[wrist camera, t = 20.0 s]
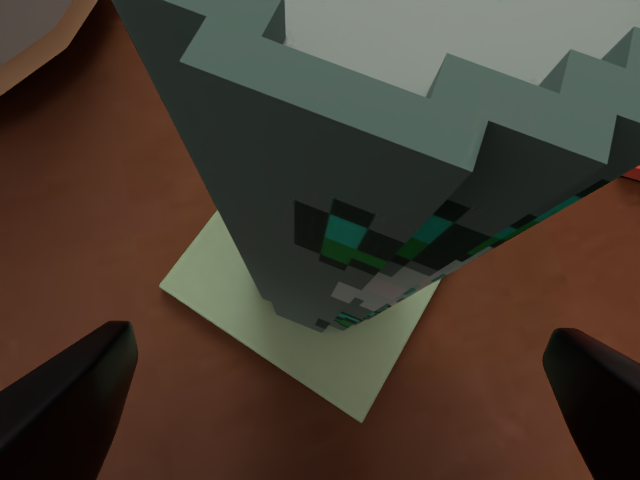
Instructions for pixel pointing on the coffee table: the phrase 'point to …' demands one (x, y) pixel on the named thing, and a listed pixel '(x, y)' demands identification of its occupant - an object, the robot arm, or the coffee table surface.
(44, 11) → the desk lamp
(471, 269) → the coffee table surface
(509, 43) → the can
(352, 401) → the mat
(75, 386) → the robot arm
